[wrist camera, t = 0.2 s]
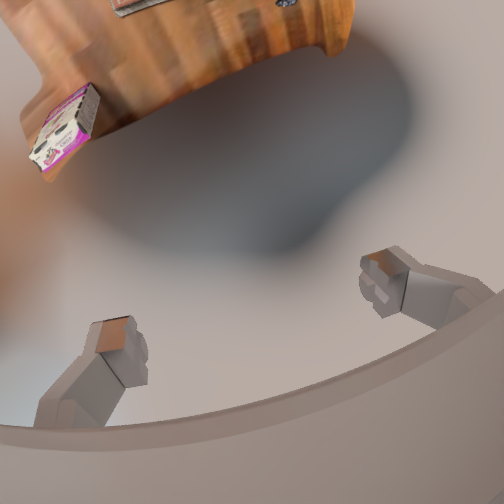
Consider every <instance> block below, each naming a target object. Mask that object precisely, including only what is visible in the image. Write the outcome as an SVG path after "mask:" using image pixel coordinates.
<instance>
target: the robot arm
mask: <svg viewBox="0 0 504 504" xmlns="http://www.w3.org/2000/svg"><path fill="white" fill-rule="evenodd" d="M360 267H361V268H362V270H363V272H362V273H361V275H360V276H359V286H360V290H361V293H362V295H363V296H364V298H365V299H366V300H368V301H370V302H373V308H374V309H375V311H376V312H377V313H378V314H379V315H380V316H381V318H385V317H388V316H390V315H393V314H396V313H398V312H401V313H403V314H405V315H407V316H409V317H411V318H413V319H416V320H418V321H420V322H422V323H424V324H426V325H428V326H430V327H432V328H434V329H436V330H437V331H435V332H433V333H431V334H429V335H427V336H425V337H423V338H421V339H419V340H417V341H415V342H413V343H411V344H409V345H407V346H405V347H403V348H401V349H399V350H397V351H395V352H393V353H391V354H388V355H386V356H384V357H381V358H379V359H377V360H375V361H372V362H370V363H368V364H365V365H363V366H360V367H358V368H356V369H353V370H351V371H348V372H346V373H343V374H340V375H338V376H335V377H332V378H330V379H327V380H324V381H321V382H319V383H316V384H313V385H310V386H307V387H304V388H301V389H298V390H295V391H291V392H288V393H285V394H282V395H278V396H275V397H271V398H268V399H264V400H261V401H257V402H253V403H249V404H245V405H241V406H237V407H233V408H229V409H224V410H220V411H215V412H210V413H205V414H200V415H195V416H189V417H183V418H178V419H171V420H164V421H158V422H150V423H141V424H132V425H122V426H108V427H104V426H105V424H106V422H107V421H108V419H109V417H110V416H111V414H112V412H113V410H114V408H115V407H116V405H117V403H118V402H119V400H120V398H121V396H122V395H123V393H124V391H125V388H130V387H136V386H142V385H147V380H148V378H147V377H148V369H147V367H146V366H145V363H146V362H147V360H148V349H147V344H146V342H145V339H144V337H143V335H142V334H141V333H140V332H138V331H137V330H136V329H137V323H136V321H135V320H134V318H133V317H132V316H131V315H129V316H124V317H118V318H113V319H108V320H103V321H98V322H93V323H92V324H91V325H90V328H89V332H88V335H87V339H86V343H85V346H84V350H83V354H82V356H79V357H77V359H76V360H75V361H74V362H73V363H72V364H71V365H70V366H69V367H68V368H67V369H66V371H65V372H64V373H63V374H62V375H61V376H60V377H59V378H58V379H57V381H56V382H55V383H54V384H53V385H52V386H51V387H50V388H49V389H48V391H47V392H46V393H45V394H44V395H43V396H42V397H41V399H40V400H39V405H38V409H37V413H36V417H35V422H34V426H33V427H22V426H10V425H0V504H504V289H503V290H501V291H500V292H499V293H497V294H495V293H494V292H493V291H492V290H491V289H490V288H488V287H487V286H486V285H485V284H483V283H482V282H481V281H480V280H479V279H477V278H474V277H470V276H467V275H463V274H460V273H456V272H452V271H449V270H445V269H441V268H438V267H434V266H430V265H426V264H425V265H422V264H420V263H419V262H418V261H417V260H415V259H414V258H413V257H412V256H410V255H409V254H408V253H407V252H405V251H404V250H403V249H401V248H400V247H399V246H392V247H389V248H386V249H384V250H381V251H378V252H375V253H371V254H368V255H365V256H362V258H361V261H360Z"/></svg>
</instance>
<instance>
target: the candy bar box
mask: <svg viewBox="0 0 504 504" xmlns="http://www.w3.org/2000/svg"><path fill="white" fill-rule="evenodd" d="M100 99H101V97H100V96H99V94H98V93H97V92H96V90H95V89H94V87H93V86H92V85H91V83H90V82H89V83H87V84H86V85H84V86H83V87H82V88H80V89H79V90H78V91H76V92H75V93H74V94H72V95H71V96H70V97H69V98H67V99H66V100H65V101H63V102H62V103H61V104H60V105H58V106H57V107H56V108H55V109H54V110H52V111H51V112H50V113H49V115H48V117H47V119H46V121H45V123H44V125H43V127H42V129H41V131H40V133H39V135H38V138H37V140H36V142H35V144H34V146H33V149H32V151H31V153H30V156H29V158H30V159H31V160H32V161H33V162H34V163H36V165H37V166H38V167H40V168H41V170H42V171H43V172H45V173H46V172H48V171H49V170H50V169H51V168H52V167H53V166H55V165H56V164H57V163H58V162H59V161H61V160H62V159H63V158H64V157H66V156H67V155H68V154H70V153H71V152H72V151H73V150H75V149H76V148H77V147H79V146H80V145H81V144H83V143H84V142H86V141H87V140H88V139H90V138H91V134H92V130H93V126H94V122H95V117H96V114H97V110H98V106H99V103H100Z"/></svg>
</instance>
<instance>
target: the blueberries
mask: <svg viewBox="0 0 504 504" xmlns="http://www.w3.org/2000/svg"><path fill="white" fill-rule="evenodd" d="M295 2H296V0H277V1H276V3H275V4H276V5H277V6H282V7H285V6H290V7H291V6H292V5H293V4H295Z"/></svg>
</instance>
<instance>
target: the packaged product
mask: <svg viewBox="0 0 504 504" xmlns="http://www.w3.org/2000/svg"><path fill="white" fill-rule="evenodd" d="M164 1H167V0H110V3H111V6H112V10H114V13H115V15H116V16H117V17H119V18H120V17H122V16H125V15H127V14H129V13H132V12H134V11H137V10H140V9H143V8H145V7H148V6H151V5H154V4H157V3H160V2H164Z"/></svg>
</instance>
